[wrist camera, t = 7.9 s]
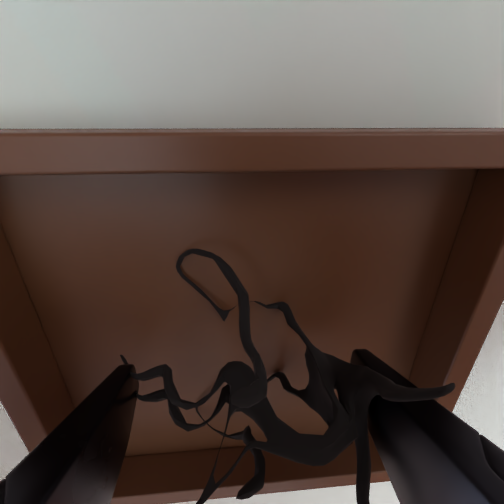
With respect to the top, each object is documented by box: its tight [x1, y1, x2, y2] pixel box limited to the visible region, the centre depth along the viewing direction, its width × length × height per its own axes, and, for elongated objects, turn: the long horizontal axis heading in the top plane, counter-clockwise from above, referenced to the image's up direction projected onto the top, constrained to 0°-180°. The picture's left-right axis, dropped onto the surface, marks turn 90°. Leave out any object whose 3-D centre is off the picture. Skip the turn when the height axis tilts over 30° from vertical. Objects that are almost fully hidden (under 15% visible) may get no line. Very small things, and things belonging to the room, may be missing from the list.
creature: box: [120, 249, 455, 504], centre depth 8 cm, size 8×5×8 cm
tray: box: [0, 128, 504, 504], centre depth 10 cm, size 15×14×2 cm
